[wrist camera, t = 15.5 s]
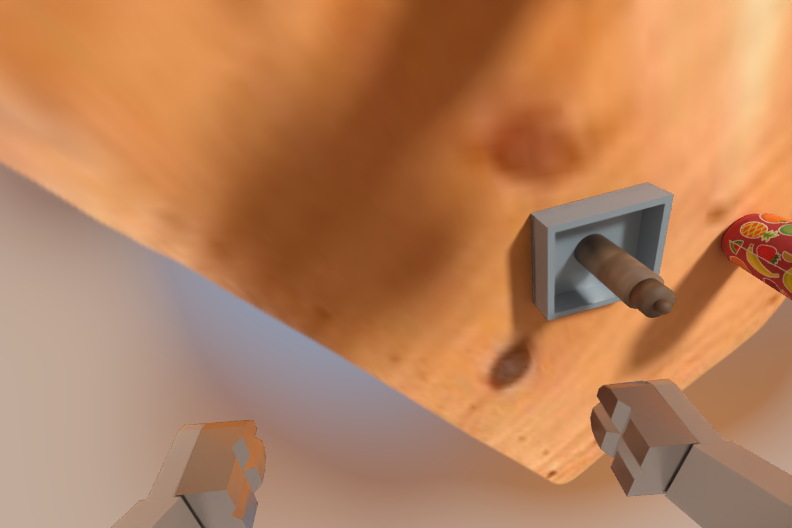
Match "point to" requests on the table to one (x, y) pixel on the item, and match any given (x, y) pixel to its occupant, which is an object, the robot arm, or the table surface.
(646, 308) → the pepper mill
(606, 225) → the serving tray
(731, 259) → the smoothie
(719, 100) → the table surface
